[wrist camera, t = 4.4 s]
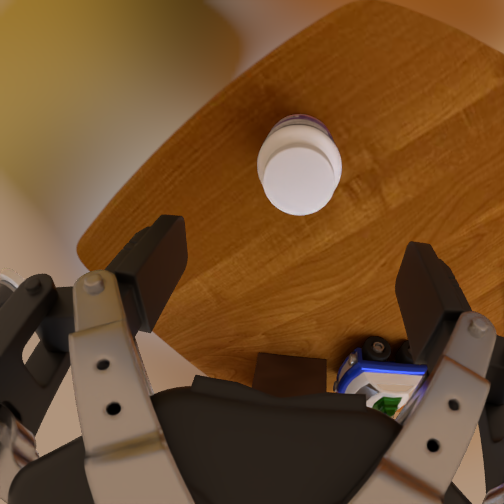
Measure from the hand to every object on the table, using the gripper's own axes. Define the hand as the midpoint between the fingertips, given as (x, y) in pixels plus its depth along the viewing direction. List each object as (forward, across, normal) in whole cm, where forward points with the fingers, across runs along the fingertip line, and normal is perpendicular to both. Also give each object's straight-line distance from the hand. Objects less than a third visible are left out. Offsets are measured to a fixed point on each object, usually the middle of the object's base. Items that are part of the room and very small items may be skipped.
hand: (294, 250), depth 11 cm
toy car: (+17, -14, +26) cm, 34 cm away
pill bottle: (+17, 0, 0) cm, 17 cm away
